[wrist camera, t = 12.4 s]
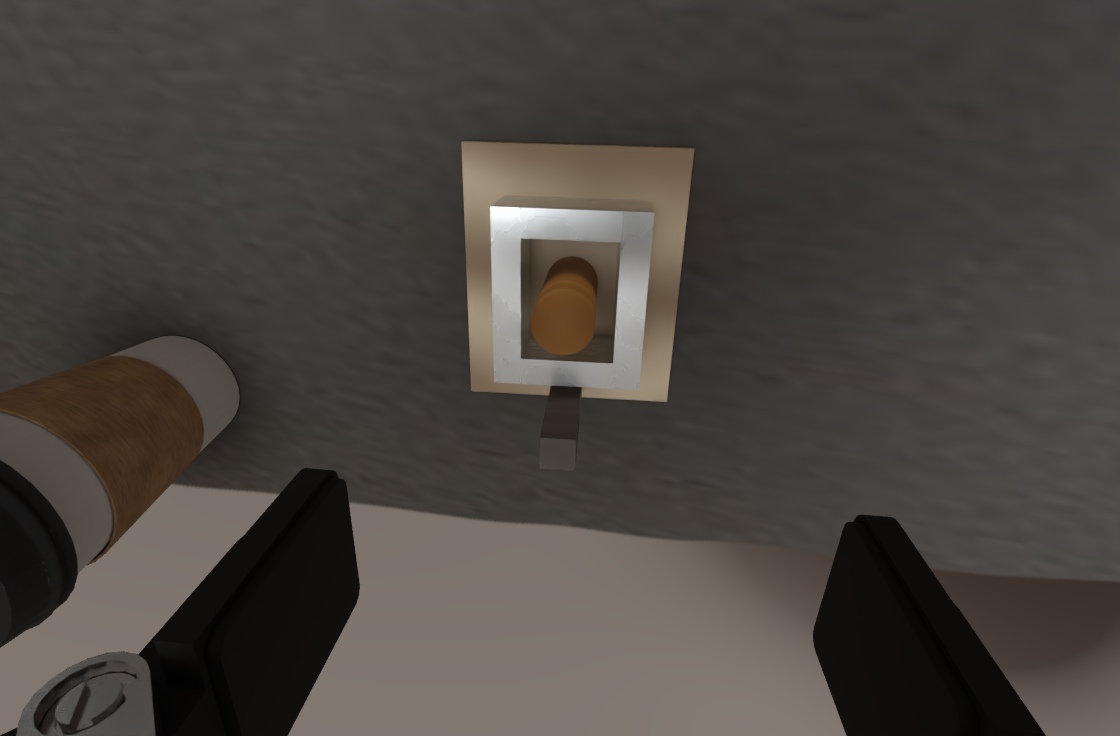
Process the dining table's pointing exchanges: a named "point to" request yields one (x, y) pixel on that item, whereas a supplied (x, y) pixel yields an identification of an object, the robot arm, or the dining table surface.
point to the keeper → (575, 266)
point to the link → (513, 342)
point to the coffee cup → (96, 461)
